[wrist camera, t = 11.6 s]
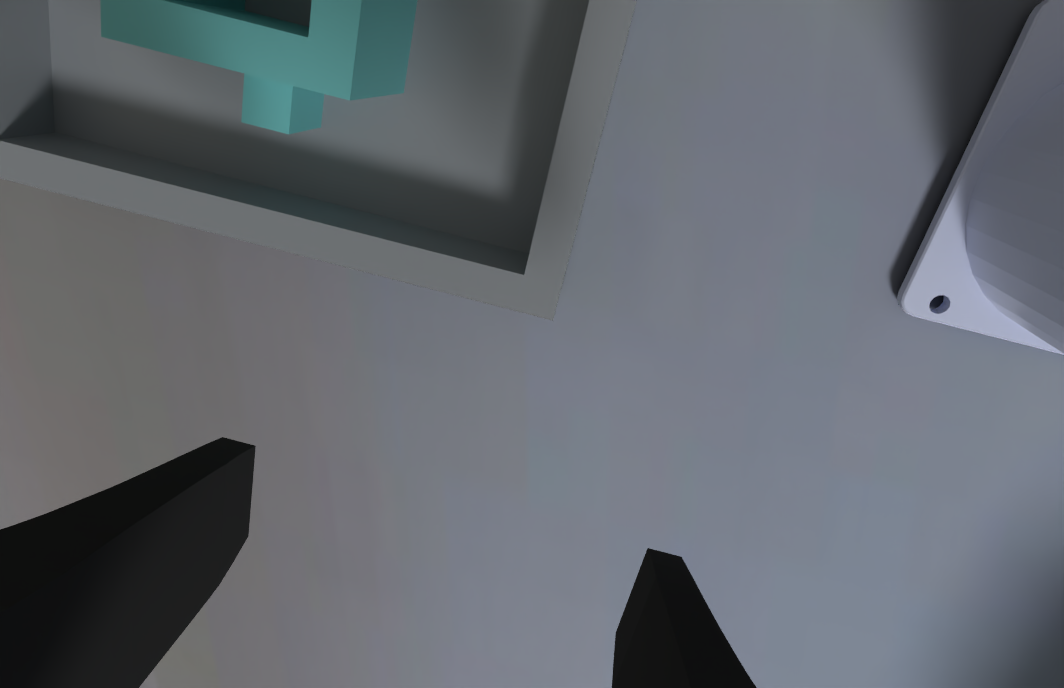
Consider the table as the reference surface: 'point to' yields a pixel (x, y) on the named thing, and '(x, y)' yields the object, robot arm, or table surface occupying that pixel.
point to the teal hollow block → (279, 50)
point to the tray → (337, 141)
